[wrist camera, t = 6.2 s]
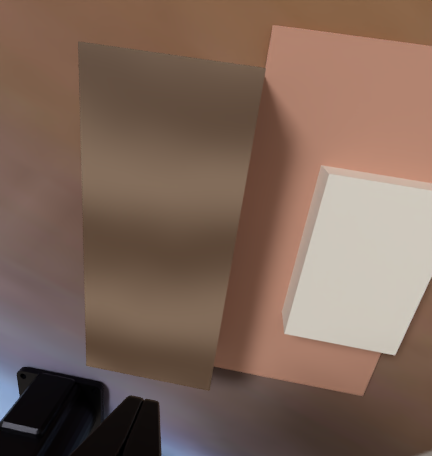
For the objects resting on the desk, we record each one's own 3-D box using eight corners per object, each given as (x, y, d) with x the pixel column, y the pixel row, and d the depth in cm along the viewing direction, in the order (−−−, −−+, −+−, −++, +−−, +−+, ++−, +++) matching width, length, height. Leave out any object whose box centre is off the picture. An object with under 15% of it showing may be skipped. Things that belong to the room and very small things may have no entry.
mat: (361, 392, 22) (362, 396, 21) (213, 363, 22) (213, 366, 22) (504, 57, 14) (509, 56, 14) (272, 26, 14) (273, 24, 14)
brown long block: (217, 340, 21) (209, 390, 18) (115, 320, 22) (86, 365, 18) (264, 75, 15) (265, 68, 12) (120, 54, 16) (78, 41, 12)
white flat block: (284, 333, 18) (281, 311, 20) (395, 355, 17) (382, 330, 19) (329, 173, 14) (321, 165, 16) (468, 196, 14) (444, 185, 16)
